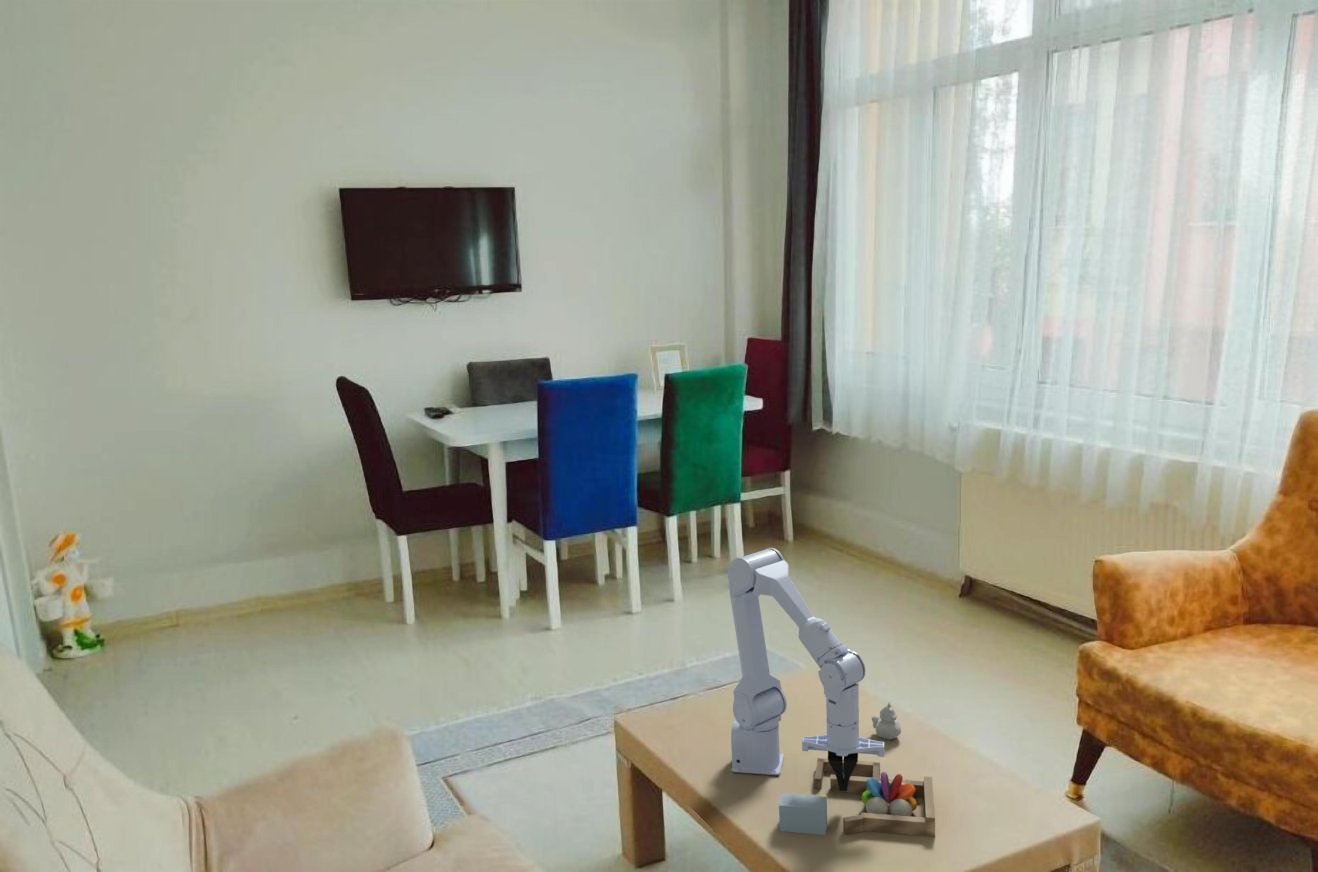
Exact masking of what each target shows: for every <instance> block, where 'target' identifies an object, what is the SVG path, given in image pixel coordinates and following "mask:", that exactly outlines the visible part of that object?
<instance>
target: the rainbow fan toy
mask: <svg viewBox="0 0 1318 872" xmlns="http://www.w3.org/2000/svg"><path fill="white" fill-rule="evenodd" d="M903 777H904V776H903V775H902V774H900V773H897V774H896V775H895V776H894V778H892V779H893V781H892V783H891V785H889V780H888V779H889V775H888V773H887V772H886V771H882V772H880V778H881V782H880V781H877V780H876V779H874V778H873V777H871V778H869V779H868V780H867V782H866V783H867V790H866V791H865V792H863V793H861V794H862V795H861V801H862V803H863V804H864V805H865V810H866V813H874V814H886V815H898V816H911V817H912V815H913V812H914V811H915V810H916V809H917V807H918V803H917V801H916V799H915V797H913V794H914V793H915V787H914V786H913V785H912V784H904V783H902V780H904V778H903Z"/></svg>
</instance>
